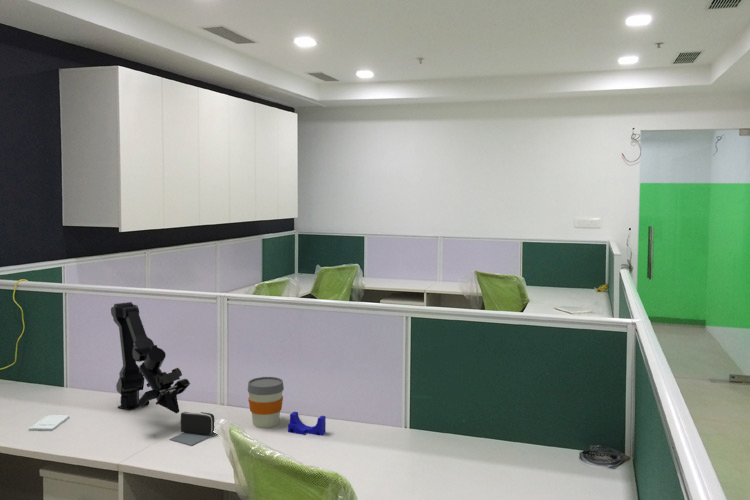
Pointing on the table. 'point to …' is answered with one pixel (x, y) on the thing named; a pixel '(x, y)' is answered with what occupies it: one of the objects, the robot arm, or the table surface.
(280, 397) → the reusable coffee cup
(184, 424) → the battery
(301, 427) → the blue cradle bracket
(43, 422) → the external hard drive
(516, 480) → the table surface
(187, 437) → the mat
